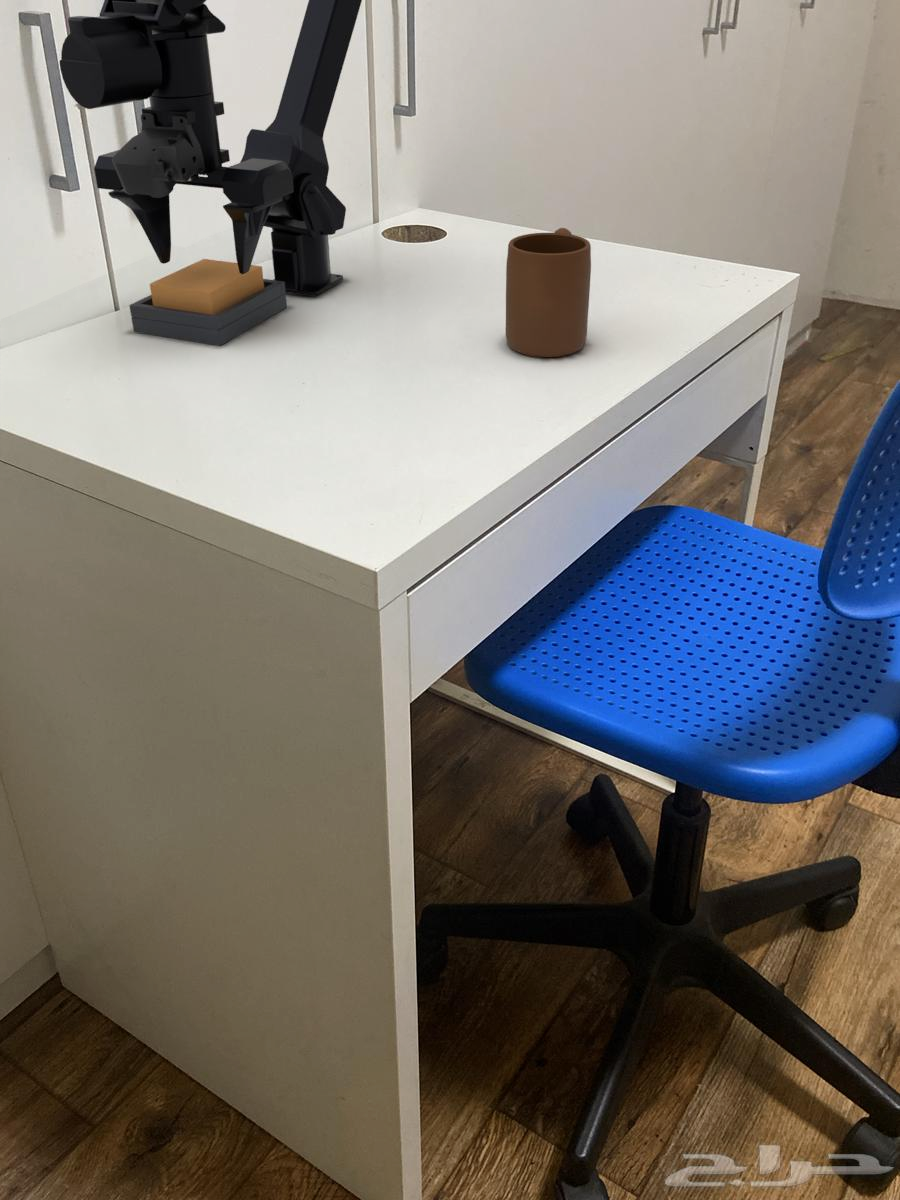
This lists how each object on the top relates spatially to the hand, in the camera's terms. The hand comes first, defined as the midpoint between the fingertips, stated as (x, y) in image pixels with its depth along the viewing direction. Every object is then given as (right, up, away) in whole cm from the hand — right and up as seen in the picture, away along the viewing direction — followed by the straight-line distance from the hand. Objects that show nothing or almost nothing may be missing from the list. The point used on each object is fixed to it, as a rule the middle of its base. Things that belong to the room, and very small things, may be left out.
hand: (204, 267), depth 107 cm
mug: (+34, -8, -2) cm, 34 cm away
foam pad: (0, -3, +2) cm, 4 cm away
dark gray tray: (0, -4, +3) cm, 5 cm away
